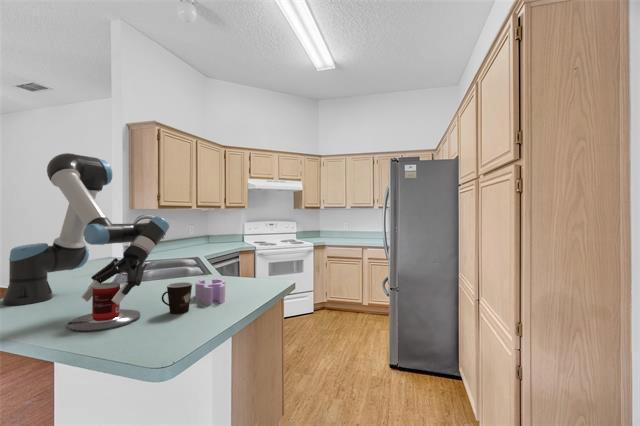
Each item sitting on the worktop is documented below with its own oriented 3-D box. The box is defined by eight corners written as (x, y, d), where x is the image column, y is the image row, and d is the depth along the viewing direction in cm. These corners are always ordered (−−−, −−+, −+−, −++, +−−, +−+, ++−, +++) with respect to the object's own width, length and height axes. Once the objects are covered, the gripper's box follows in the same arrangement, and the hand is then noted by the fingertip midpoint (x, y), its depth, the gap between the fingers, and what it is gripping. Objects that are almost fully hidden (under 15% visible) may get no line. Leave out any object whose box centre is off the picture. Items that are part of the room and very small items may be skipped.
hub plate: (51, 327, 98) (51, 323, 98) (111, 309, 117) (111, 306, 117) (98, 335, 92) (98, 331, 92) (153, 315, 111) (153, 311, 111)
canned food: (114, 312, 110) (115, 281, 110) (123, 317, 105) (123, 284, 105) (88, 317, 104) (89, 284, 104) (96, 322, 99) (96, 288, 99)
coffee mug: (186, 307, 121) (186, 281, 121) (195, 311, 115) (196, 284, 115) (154, 313, 113) (154, 285, 113) (162, 318, 107) (162, 289, 107)
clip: (231, 302, 129) (231, 285, 129) (199, 306, 123) (200, 289, 123) (221, 292, 146) (221, 277, 146) (193, 295, 140) (193, 280, 140)
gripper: (171, 258, 116) (135, 310, 101) (120, 255, 123) (80, 303, 109) (160, 245, 111) (120, 297, 96) (107, 243, 118) (64, 291, 104)
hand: (99, 300), depth 102 cm, fingers open, 13 cm apart
